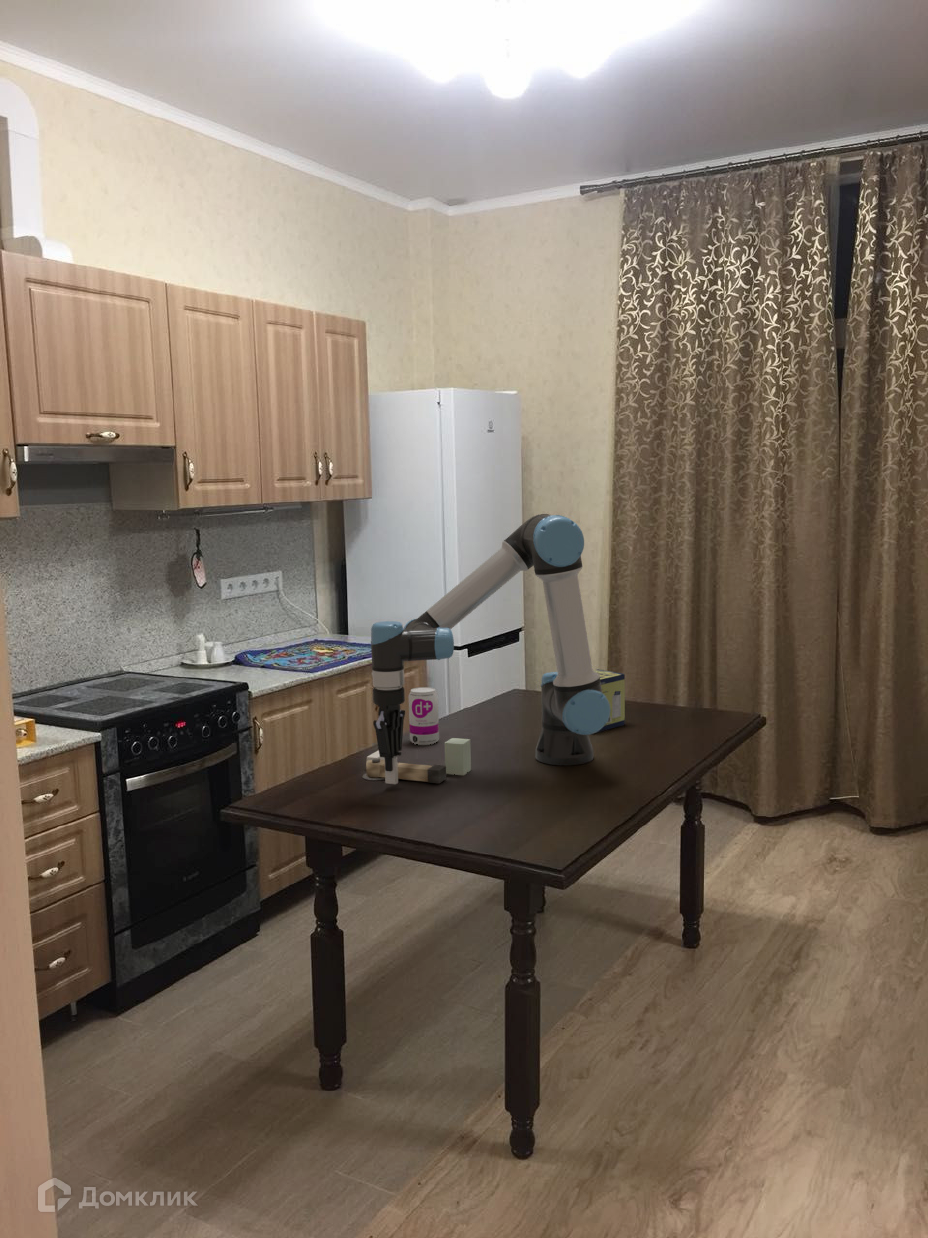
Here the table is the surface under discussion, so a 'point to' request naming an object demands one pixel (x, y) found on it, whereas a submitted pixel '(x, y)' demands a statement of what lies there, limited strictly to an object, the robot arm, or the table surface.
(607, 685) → the protein box
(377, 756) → the stop block
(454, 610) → the robot arm
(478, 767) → the table surface
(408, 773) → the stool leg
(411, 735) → the supplement can
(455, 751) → the tall sage green block
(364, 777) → the pivot plate
